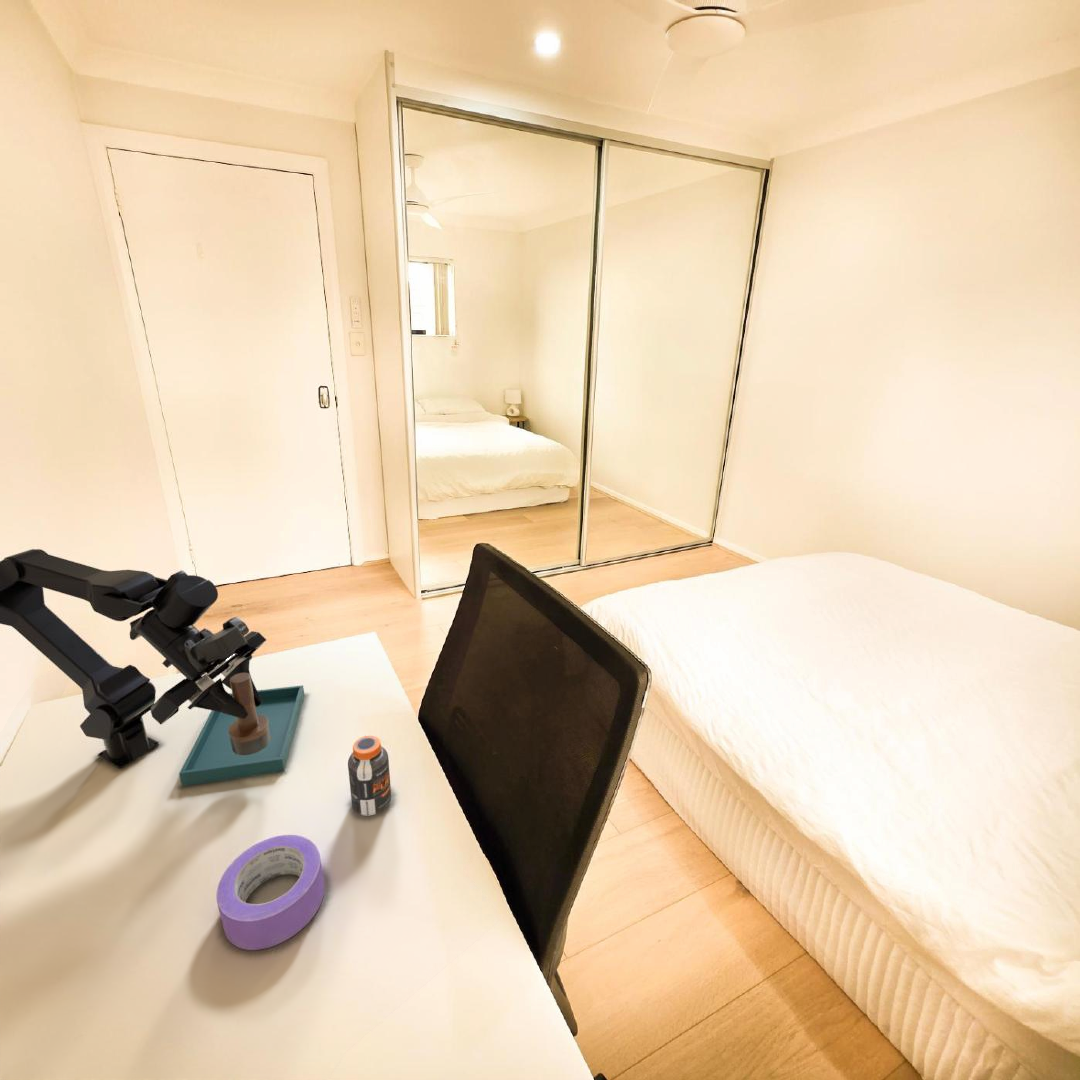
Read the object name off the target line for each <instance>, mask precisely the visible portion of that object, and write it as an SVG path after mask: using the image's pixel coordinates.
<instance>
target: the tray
mask: <svg viewBox="0 0 1080 1080" xmlns="http://www.w3.org/2000/svg"><path fill="white" fill-rule="evenodd" d="M304 689H305V688H304V685H303V684H301V685H294V686H293V685H292V686H284V687H276V688H266V689H256V690H257V692H258V694H259V696H260V698H261V701H262V703H261V704H260V705H259V706H258V707H257V706H256V712H257V714H259V715H263V716H265V717H267V719H268V723H269V730H270V736H271V740H270V742H269V744H268V745H267V746H266V747H265V748H264V749H262V750H261V751H259V752H257V753H254V754H250V755H238V754H235V753H234V752H233V750H232V746H231V741H230V736H229V728H230V726H231V725H232V724H233V723H234V722H235V721H236V720H237V717H235V716H232V715H228V714H225V713H221V712H217V711H213V710H210V713H209V715H208V717H207V719H206V721H205V722H204V724H203V727H202V728H201V731H200V732H199V735H198V736H197V738H196V739H195V742H194V744H193V746H192V748H191V750H190V751H189V753H188V755H187V758H186V760H184V761H185V762H184V763H183V766H182V768H180V771H179V773H178V775H179V778H180V782H181V787H187V786H193V785H194V786H195V785H202V784H207V783H214V782H220V781H221V782H223V781H229V780H235V779H241V778H250V777H256V776H262V775H263V776H264V775H269V774H275V773H276V774H277V773H282V772H285V771H286V767H287V763H288V759H289V755H290V752H291V749H292V744H293V741H294V737H295V734H296V730H297V727H298V722H299V718H300V714H301V711H302V707H303V704H304V700H305V697H306V696H305V695H306V694H305V690H304ZM229 694H230V695H231V696H232V697H233V695H232V692H230V693H229Z"/></svg>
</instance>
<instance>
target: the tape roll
mask: <svg viewBox="0 0 1080 1080" xmlns="http://www.w3.org/2000/svg"><path fill="white" fill-rule="evenodd" d="M323 872H324V871H323V866H322V859H321V854H320V851H319V848H318V847H317V845H316V844H315V843H314V842H313V841H311V839H309V838H307V837H305V836H302V835H297V834H282V835H281V834H280V835H276V836H272V837H269V838H266V839H264V840H261V841H259V842H257V843H256V844H254V845H252V846H250V847H249V848H247V849H246V850H244V851H243V852H242V853H240V854H239V855H238V856H237V857H236V858H235V859H234V860H233V861H232V862H231V863H230V864H229V866H228V867H227V868H226V869H225V871H224V872H223V873H222V876H221V878H220V879H219V882H218V885H217V890H216V903H217V908H218V911H219V915H220V919H221V924H222V927H223V931H224V934H225V936H226V938H227V940H228V941H229V942H230V943H231V944H232V945H233V946H235V947H237V948H239V949H242V950H245V951H246V950H248V951H257V950H265V949H268V948H272V947H274V946H277V945H279V944H282V943H284V942H286V941H288V940H289V939H291V938H292V937H294V936H295V935H296V934H298V933H299V932H300V931H302V930H303V929H304V927H306V926H307V925H308V924H309V923H310V921H311V920H312V919H313V917H314V916H315V915H316V914H317V912H318V910H319V909H320V906H321V904H322V903H323V899H324V896H325V888H326V887H325V885H326V884H325V878H324V873H323ZM284 875H293V876H297V877H298V879H297V881H295V883H294V884H293V886H291V888H290V889H289V890H287V891H286V892H284V893H283V894H282V895H280V896H278V897H277V898H274V899H273V900H269V901H267V902H263V903H248V902H247V900H248V899H249V897H250V896H251V894H252V893H253V892H254V891H255V890H256V889H257V888H258V887H260V886H261V885H262V884H263V883H265V882H267V881H269V880H271V879H273V878H275V877H279V876H284Z"/></svg>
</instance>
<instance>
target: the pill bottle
mask: <svg viewBox="0 0 1080 1080" xmlns="http://www.w3.org/2000/svg"><path fill="white" fill-rule="evenodd" d="M347 769H348V770H347V771H348V781H349V790H350V798H351V806H352V809H353V811H354V812H355V813H356V814H358V815H360V816H367V817H368V816H374V815H377V814H379V813H382V812H383V811H384V810H385V809H387V808H388V806H389V805H390V803H391V801H392V790H391V789H392V788H391V787H392V786H391V774H390V761H389V753H388V751H387V749H386V748H385V747H384V746H382V744H381V739H380V738H379V737H377V736H376V735H364V736H361V737H359V738H358V739H357V740H356V741H355V742H354V743H353V745H352V752H351V754H350V755H349V757H348V760H347Z"/></svg>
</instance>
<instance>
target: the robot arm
mask: <svg viewBox="0 0 1080 1080" xmlns="http://www.w3.org/2000/svg"><path fill="white" fill-rule="evenodd" d="M44 589H47V590H49V591H53V592H57V593H59V594H64V595H67V596H70V597H74V598H78V599H81V600H84V601H86V602H88V603H89V604H90V606H91V608H92V610H93V612H95V613H97V614H99V615H100V616H101V615H102V616H103V617H106V618H108V619H110V620H112V621H115V622H124V621H127V620H129V619H131V618H133V617H137V616H138V615H140V614H142V613H144V612H145V614H144V615H143V616H140V617H138V618H136V619H134V620H132V621H130V622H129V626H130V631H129V639H130V640H131V641H135V640H137V639H138V638H140V637H142V638H144V640H145V641H146V642H147V643H148V644H149V645H150V646H152V647H153V648H154V650H156V651H157V652H158V653H159V654H160V655H161V656H162V657H163V658H164V659H165V660H163V661H162V663H161V664H162V665H163V666H164V667H165V668H170V667H171V666H173V667H174V668H175V669H176V670H178V672H179V673H180V674H181V675H182V676H184V677H185V678H184V679H182V680H181V681H179V682H178V683H176V684H175V685H173V686H172V687H171V688H169V689H168V690H166V691H165V692H164V693H163V694H162V695H161V696H159V698H158V699H157V700H156V694H157V693H156V692H157V690H156V686H155V685H154V684H153V682H151V679H150V678H149V677H147V676H146V675H144V674H143V673H141V671H140V670H139V669H138V668H137V667H136V666H134V665H133V664H128V665H126V666H124V667H119V666H116V665H113V664H111V663H110V662H108V660H106V659H105V658H104V657H103V656H102V655H101V654H100V653H99V652H98V651H97V650H96V649H94V648H93V647H92V646H91V645H90V644H89V643H88V642H87V641H85V640H84V638H82V637H81V636H80V635H79V634H78V633H76V631H74V629H72V628H71V627H70V626H69V625H68V624H67V623H66V622H64V620H62V619H61V618H60V617H59V616H58V615H57V614H56V613H55V612H53V610H51V608H49V607H48V606H47V604H46V603H45V594H44V593H45V591H44ZM218 597H219V592H218V588H217V586H216V585H215V584H214V583H213V581H211V580H210V579H207V578H205V577H202V576H199V575H196V574H195V575H194V574H192V575H191V574H189V575H188V574H187V572H185V570H179V571H177V572H175V573H172V574H171V575H170V576H169V577H168V578H167V579H166V578H161V577H158V576H155V575H153V574H152V573H151V572H148V571H143V570H136V569H120V570H119V569H117V570H105V569H104V570H103V569H100V568H97V567H93V566H90V565H86V564H84V563H79V562H76V561H72V560H69V559H66V558H62V557H60V556H54V555H52V554H49V553H48V552H47V551H45V550H43V549H41V548H31V549H28V550H24V551H21V552H18V553H15V554H12V555H8V556H6V557H4V558H3V559H1V560H0V625H4V626H9V627H12V628H13V629H14V630H16V632H18V633H19V634H20V635H21V636H22V637H23V638H24V639H26V640H27V641H28V642H29V643H30V644H31V645H32V646H34V648H35V649H37V651H39V652H40V653H41V654H42V655H43V656H45V657H46V658H47V659H48V660H49V661H50V662H51V663H53V665H55V666H56V667H57V668H58V669H59V670H60V671H61V672H62V673H64V674H65V675H66V676H67V677H68V678H69V679H70V680H72V682H74V683H75V684H76V685H77V686H78V687H79V688H80V689H81V691H82V700H83V707H84V709H85V710H86V711H87V712H88V713H89V715H88V716H87V717H86V718H85V719H84V720H83V722H81V724H80V725H79V727H80V729H81V730H82V732H83V734H84V735H85V737H87V738H93V739H99V740H102V741H103V745H104V750H102V751H100V752H99V753H98V754H97V757H98V758H99V759H101V760H102V761H104V762H106V763H108V764H110V765H112V767H115V768H116V769H123V768H124V767H126V766H128V765H130V764H131V763H133V762H134V761H136V760H138V759H140V758H142V757H143V756H144V755H146V754H148V753H150V752H151V751H153V750H154V749H156V748H157V747H159V746H160V743H159V741H156V740H154V739H153V738H151V737H148V734H147V730H146V726H145V722H144V719H143V716H145V715H146V714H147V713H148V712H150V713H151V717H152V718H153V719H154V720H155V721H156V722H157V723H158V724H159V725H163V724H164V723H165V722H167V721H168V720H169V719H170V718H171V717H173V716H175V715H176V714H177V713H178V712H179V710H180V706H182V705H184V703H186V702H187V701H189V702H190V704H189V705H188V706H187V709H188V710H192V709H193V708H198V709H203V710H209V711H212V710H213V711H217V712H221V713H225V714H228V715H232V716H235V717H238V718H242V719H245V718H246V717H247V716H248V715H249V714H248V713H247V711H246V710H245V709H244V708H243V707H242V706H241V705H240V704H239V703H238V702H237V701H236V700H235V699H234V698H233V697H232V696H231V695H230V693H229V692H228V691H227V690H226V689H225V687H224V686H226V688H229V689H230V690H231V684H230V678H231V677H232V676H234V675H236V674H238V673H249V674H250V677H251V682H252V688H253V694H254V700H255V706H257V707H258V706H259V705H260V704H261V703H262V701H261V698H260V696H259V694H258V692H257V690H258V689H257V688H256V685H255V683H254V681H253V679H252V675H251V672H250V661H251V660H252V659H253V654H254V653H255V652H256V651H257V650H259V648H260V647H262V645H263V644H264V643H266V641H267V638H266V637H265V636H263V634H261V632H259V631H250V629H249V627H248V625H247V623H245V622H244V621H243V619H241V618H239V617H238V616H234V617H231V618H230V619H228V620H226V621H224V622H223V623H222V629H220V630H219V631H218V632H215V633H213V632H212V631H211V630H210V629H207V628H205V627H204V628H203V629H201V630H199V629H198V628H197V627H196V626H195V624H196V623H197V622H198V621H200V619H201V618H202V617H203V616H204V615H205V614H206V613H207V611H208V610H209V609H210V608H211V607H212V606H213V605H214V604H215V603H216V602H217V600H218ZM149 609H150V610H149ZM146 611H147V612H146ZM219 675H222V676H223V677H224V678H223V679H222V678H221V677H220V678H218V676H219ZM215 678H218V679H217V680H216V681H214V679H215Z"/></svg>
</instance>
